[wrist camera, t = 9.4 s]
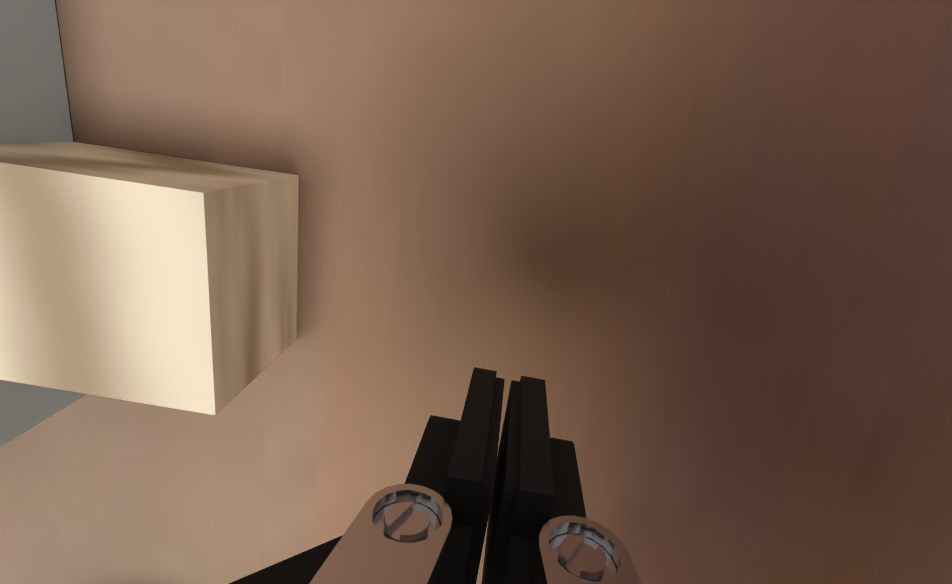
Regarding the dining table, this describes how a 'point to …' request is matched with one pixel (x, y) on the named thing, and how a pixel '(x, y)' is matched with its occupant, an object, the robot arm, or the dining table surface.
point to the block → (143, 273)
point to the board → (28, 121)
